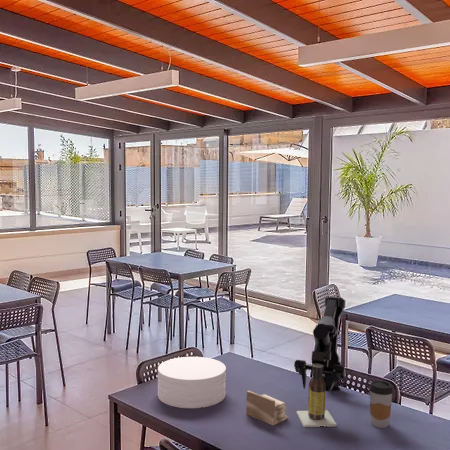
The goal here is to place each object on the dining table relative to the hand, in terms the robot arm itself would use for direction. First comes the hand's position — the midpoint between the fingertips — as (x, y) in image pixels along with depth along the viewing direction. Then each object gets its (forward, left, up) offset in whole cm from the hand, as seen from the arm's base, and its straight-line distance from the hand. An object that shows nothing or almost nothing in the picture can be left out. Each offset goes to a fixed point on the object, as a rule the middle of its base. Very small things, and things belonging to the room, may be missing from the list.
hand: (316, 390), depth 194 cm
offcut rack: (+18, -4, -11) cm, 21 cm away
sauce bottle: (0, -1, -11) cm, 11 cm away
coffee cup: (-23, +5, -12) cm, 26 cm away
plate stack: (+45, -27, -12) cm, 54 cm away
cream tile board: (0, -1, -11) cm, 11 cm away
